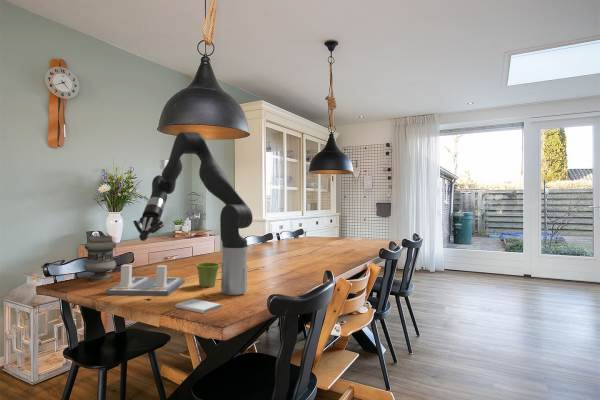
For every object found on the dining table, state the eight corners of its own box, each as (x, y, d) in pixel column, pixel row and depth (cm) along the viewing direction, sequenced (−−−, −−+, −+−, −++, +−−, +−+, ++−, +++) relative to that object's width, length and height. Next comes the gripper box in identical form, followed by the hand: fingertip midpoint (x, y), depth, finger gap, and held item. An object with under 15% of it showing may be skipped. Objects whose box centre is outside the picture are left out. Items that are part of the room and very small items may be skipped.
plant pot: (224, 285, 147) (224, 264, 147) (206, 289, 139) (207, 267, 140) (208, 282, 153) (209, 261, 153) (190, 286, 145) (191, 264, 145)
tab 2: (167, 285, 137) (167, 265, 137) (163, 287, 133) (164, 267, 133) (158, 285, 137) (159, 265, 137) (154, 287, 133) (155, 266, 133)
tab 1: (132, 284, 137) (133, 264, 137) (128, 287, 133) (128, 266, 133) (124, 284, 137) (124, 264, 137) (119, 286, 133) (119, 266, 133)
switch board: (184, 282, 151) (185, 277, 151) (168, 295, 130) (168, 289, 130) (131, 281, 150) (131, 276, 150) (105, 294, 129) (106, 288, 129)
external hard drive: (203, 315, 110) (175, 308, 116) (221, 308, 117) (194, 302, 123) (203, 310, 110) (175, 303, 116) (222, 303, 117) (194, 298, 123)
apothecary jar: (76, 280, 151) (78, 236, 151) (100, 274, 162) (102, 234, 162) (99, 282, 147) (100, 238, 147) (122, 277, 158) (123, 236, 159)
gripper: (136, 203, 159) (123, 233, 146) (167, 203, 159) (156, 234, 147) (141, 214, 164) (128, 244, 152) (170, 215, 164) (160, 245, 152)
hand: (142, 239), depth 149 cm, fingers closed
